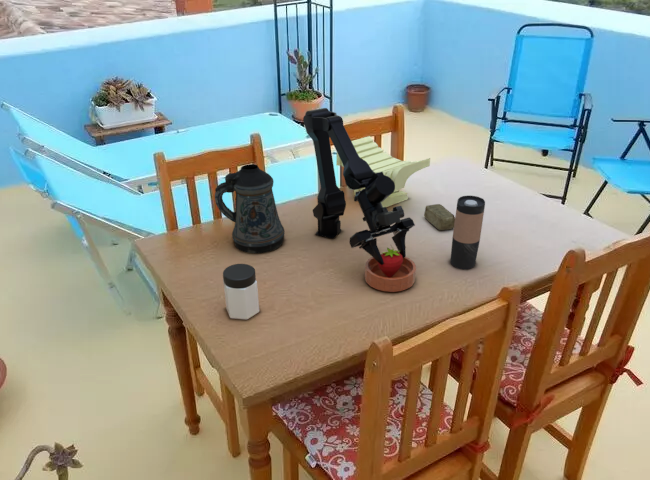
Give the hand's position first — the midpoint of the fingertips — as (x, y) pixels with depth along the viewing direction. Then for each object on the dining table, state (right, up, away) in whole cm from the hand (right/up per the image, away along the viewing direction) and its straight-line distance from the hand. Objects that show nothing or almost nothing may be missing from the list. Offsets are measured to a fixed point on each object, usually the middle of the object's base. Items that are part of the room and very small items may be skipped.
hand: (393, 260), depth 160 cm
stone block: (+20, +13, +34) cm, 41 cm away
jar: (-41, -13, -7) cm, 43 cm away
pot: (-1, -5, +5) cm, 7 cm away
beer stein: (-40, +6, +24) cm, 48 cm away
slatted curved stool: (+2, +24, +51) cm, 57 cm away
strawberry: (-1, -5, +4) cm, 6 cm away
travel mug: (+22, 0, +12) cm, 25 cm away
